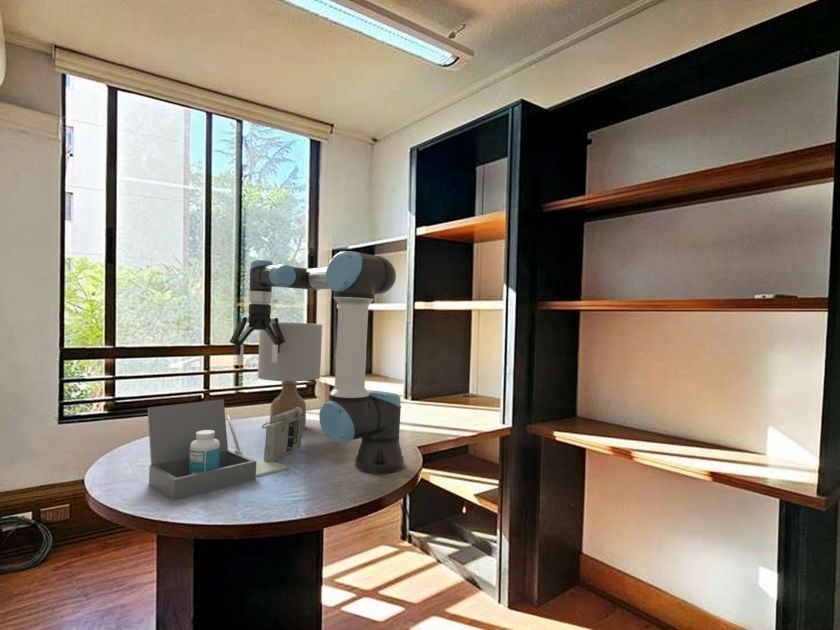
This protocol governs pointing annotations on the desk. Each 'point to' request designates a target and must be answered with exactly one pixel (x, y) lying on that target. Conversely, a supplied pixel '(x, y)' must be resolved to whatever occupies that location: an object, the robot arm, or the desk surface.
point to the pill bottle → (204, 452)
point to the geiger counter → (283, 434)
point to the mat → (268, 467)
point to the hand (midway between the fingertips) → (257, 363)
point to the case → (172, 449)
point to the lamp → (291, 363)
